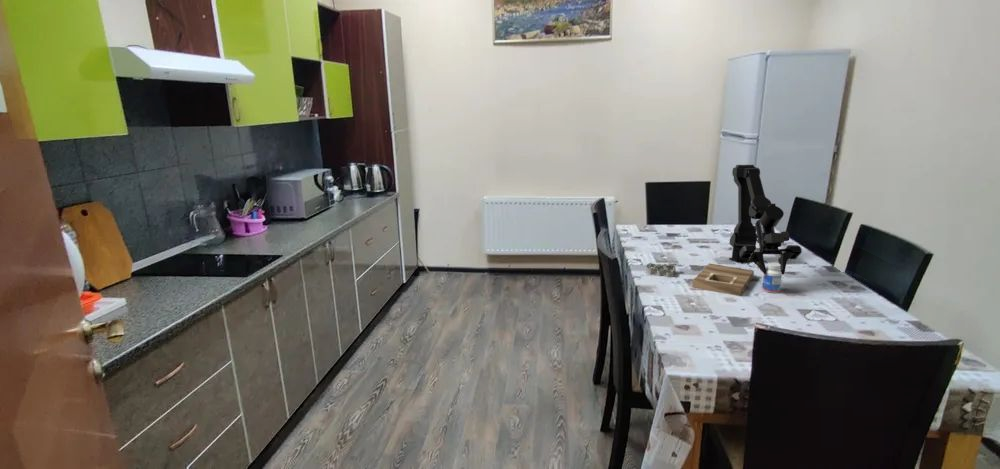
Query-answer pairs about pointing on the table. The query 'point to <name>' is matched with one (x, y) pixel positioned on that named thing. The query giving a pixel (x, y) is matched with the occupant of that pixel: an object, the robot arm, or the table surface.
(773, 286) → the pill bottle
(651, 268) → the egg carton
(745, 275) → the socket board
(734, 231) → the robot arm
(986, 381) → the table surface
